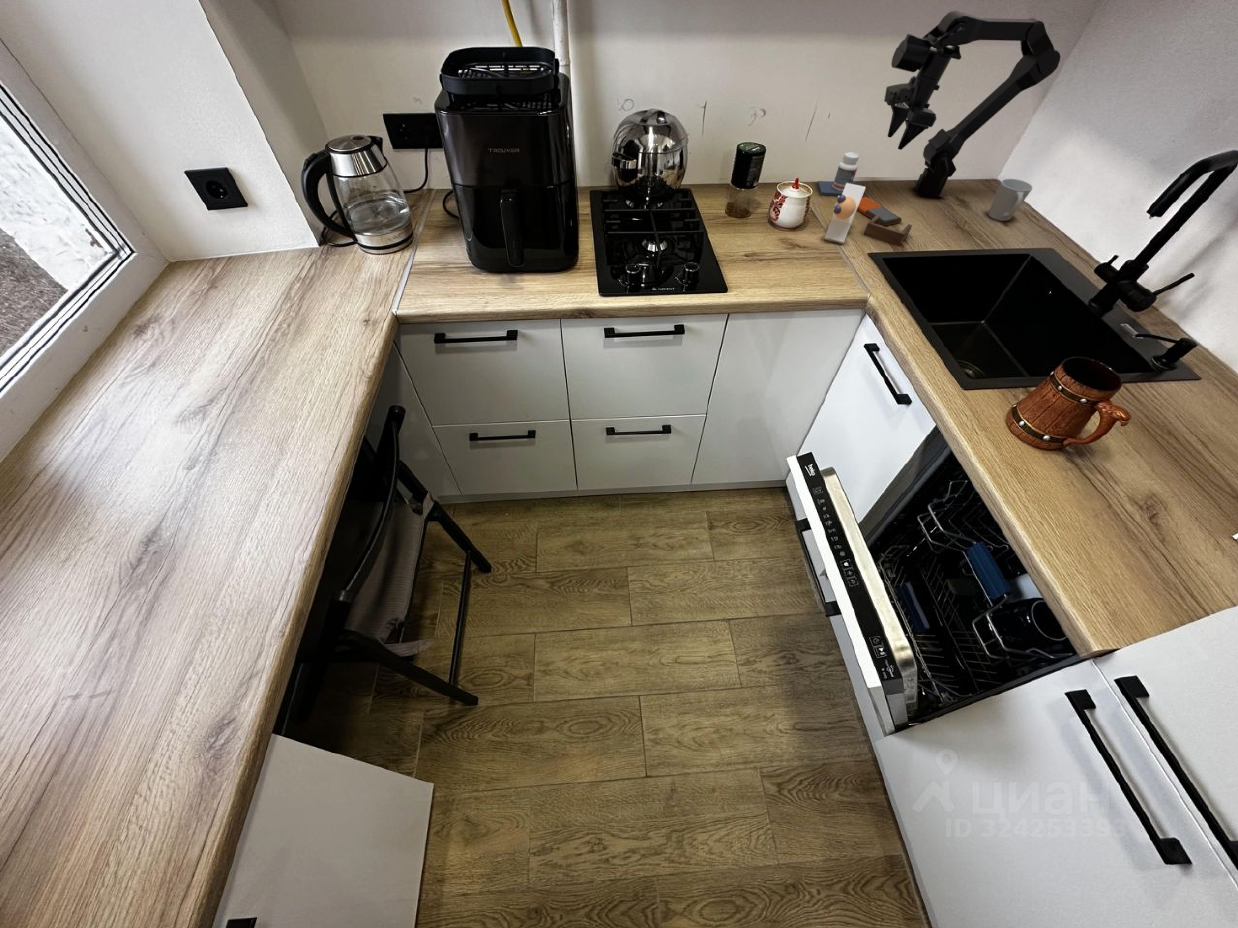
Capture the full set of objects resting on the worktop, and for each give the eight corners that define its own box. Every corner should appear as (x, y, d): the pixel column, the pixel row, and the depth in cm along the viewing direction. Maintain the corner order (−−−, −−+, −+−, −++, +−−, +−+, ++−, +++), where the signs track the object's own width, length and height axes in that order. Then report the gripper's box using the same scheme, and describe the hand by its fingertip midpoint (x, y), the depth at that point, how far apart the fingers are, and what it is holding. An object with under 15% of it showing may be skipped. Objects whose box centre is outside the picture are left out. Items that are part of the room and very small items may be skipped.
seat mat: (857, 186, 158) (858, 183, 157) (862, 197, 152) (863, 195, 152) (817, 183, 158) (817, 181, 158) (820, 195, 153) (821, 192, 152)
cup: (1008, 211, 148) (1027, 180, 142) (1020, 228, 142) (1040, 195, 135) (980, 209, 149) (997, 177, 142) (990, 225, 143) (1009, 193, 136)
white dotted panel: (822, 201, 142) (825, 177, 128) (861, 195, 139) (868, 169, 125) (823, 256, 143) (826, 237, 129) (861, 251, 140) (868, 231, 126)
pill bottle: (849, 193, 152) (861, 159, 146) (831, 190, 153) (841, 157, 147) (850, 185, 156) (861, 153, 149) (832, 183, 157) (842, 150, 150)
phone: (866, 195, 150) (903, 218, 141) (864, 200, 151) (901, 223, 142) (848, 199, 148) (884, 222, 140) (846, 204, 149) (882, 227, 141)
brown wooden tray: (872, 225, 141) (877, 214, 139) (907, 236, 138) (912, 225, 135) (863, 234, 138) (867, 223, 136) (898, 245, 134) (903, 234, 132)
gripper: (888, 59, 139) (858, 125, 151) (912, 80, 127) (877, 150, 139) (927, 68, 140) (893, 133, 152) (954, 90, 128) (915, 158, 140)
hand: (894, 143), depth 145 cm, fingers open, 9 cm apart
